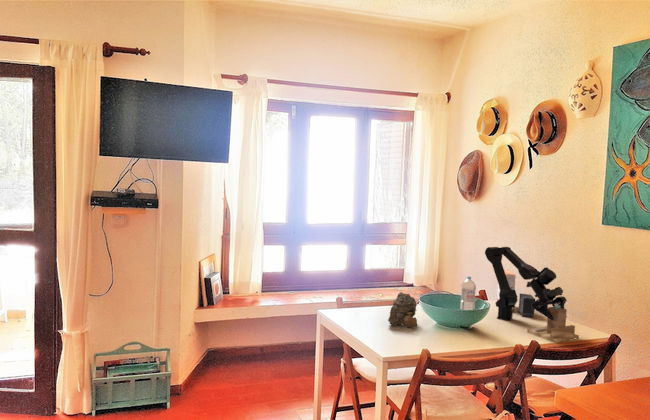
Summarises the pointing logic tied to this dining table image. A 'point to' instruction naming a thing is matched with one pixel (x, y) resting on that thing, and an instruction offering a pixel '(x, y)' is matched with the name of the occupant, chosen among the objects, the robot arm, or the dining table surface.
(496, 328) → the dining table surface
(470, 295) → the water bottle
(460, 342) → the dining table surface
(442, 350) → the dining table surface
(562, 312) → the wooden block
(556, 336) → the cleat board
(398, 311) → the rock
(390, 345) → the dining table surface
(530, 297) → the small box
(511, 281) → the cracker box
